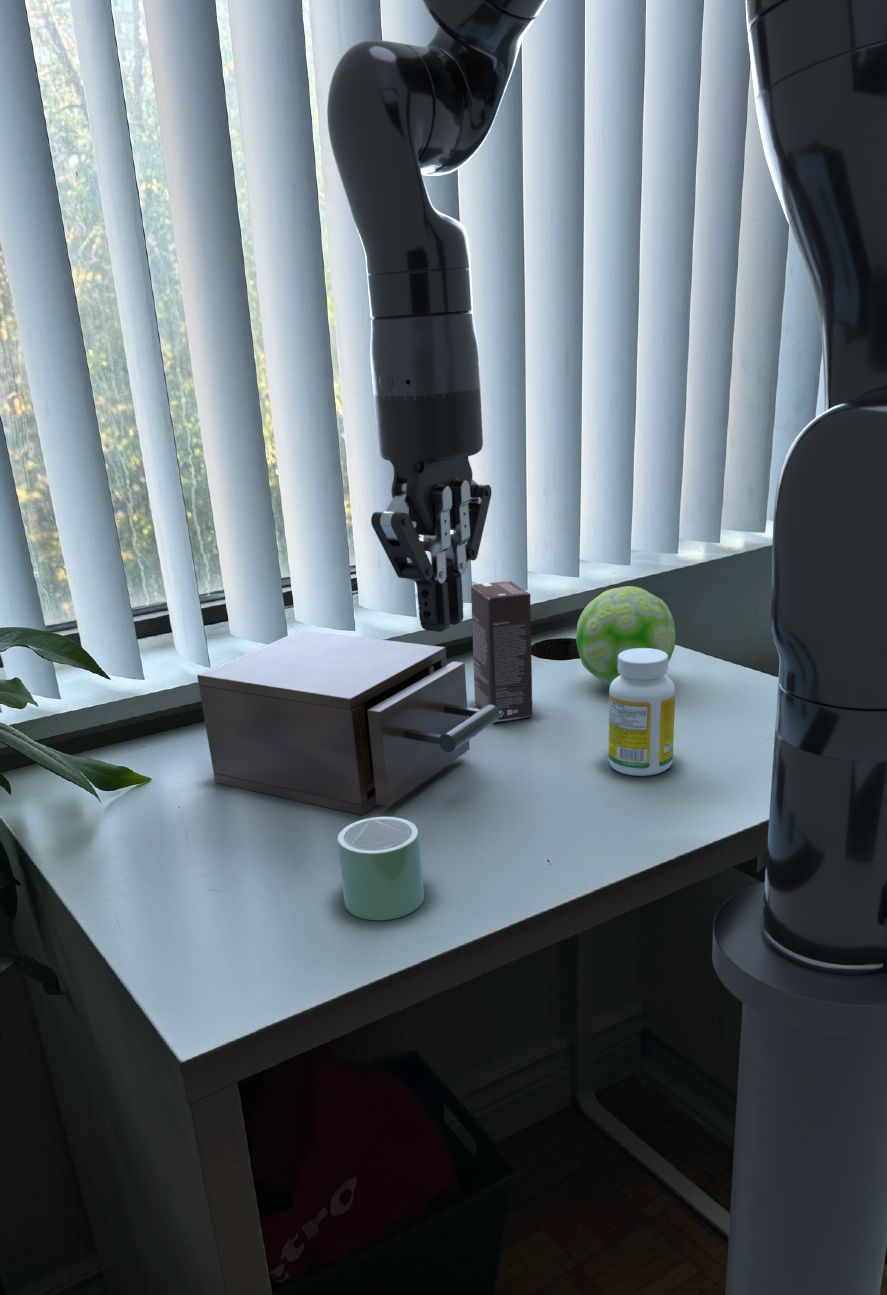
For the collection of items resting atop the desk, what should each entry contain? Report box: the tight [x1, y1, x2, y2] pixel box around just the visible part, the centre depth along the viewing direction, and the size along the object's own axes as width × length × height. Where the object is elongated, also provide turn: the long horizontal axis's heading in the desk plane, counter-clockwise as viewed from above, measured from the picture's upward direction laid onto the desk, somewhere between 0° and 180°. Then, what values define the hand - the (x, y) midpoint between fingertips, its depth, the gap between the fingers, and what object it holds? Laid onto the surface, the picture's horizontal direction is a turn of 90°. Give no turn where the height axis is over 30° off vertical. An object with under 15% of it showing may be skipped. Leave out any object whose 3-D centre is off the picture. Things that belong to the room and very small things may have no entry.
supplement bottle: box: [608, 648, 676, 777], centre depth 89 cm, size 5×5×10 cm
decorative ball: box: [575, 585, 677, 686], centre depth 107 cm, size 10×10×10 cm
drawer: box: [357, 661, 500, 807], centre depth 90 cm, size 19×13×8 cm, turn 58°
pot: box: [336, 816, 425, 921], centre depth 72 cm, size 5×5×5 cm
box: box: [470, 580, 533, 723], centre depth 102 cm, size 6×4×12 cm
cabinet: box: [196, 629, 448, 816], centre depth 93 cm, size 16×14×10 cm
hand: (442, 625), depth 83 cm, fingers closed
